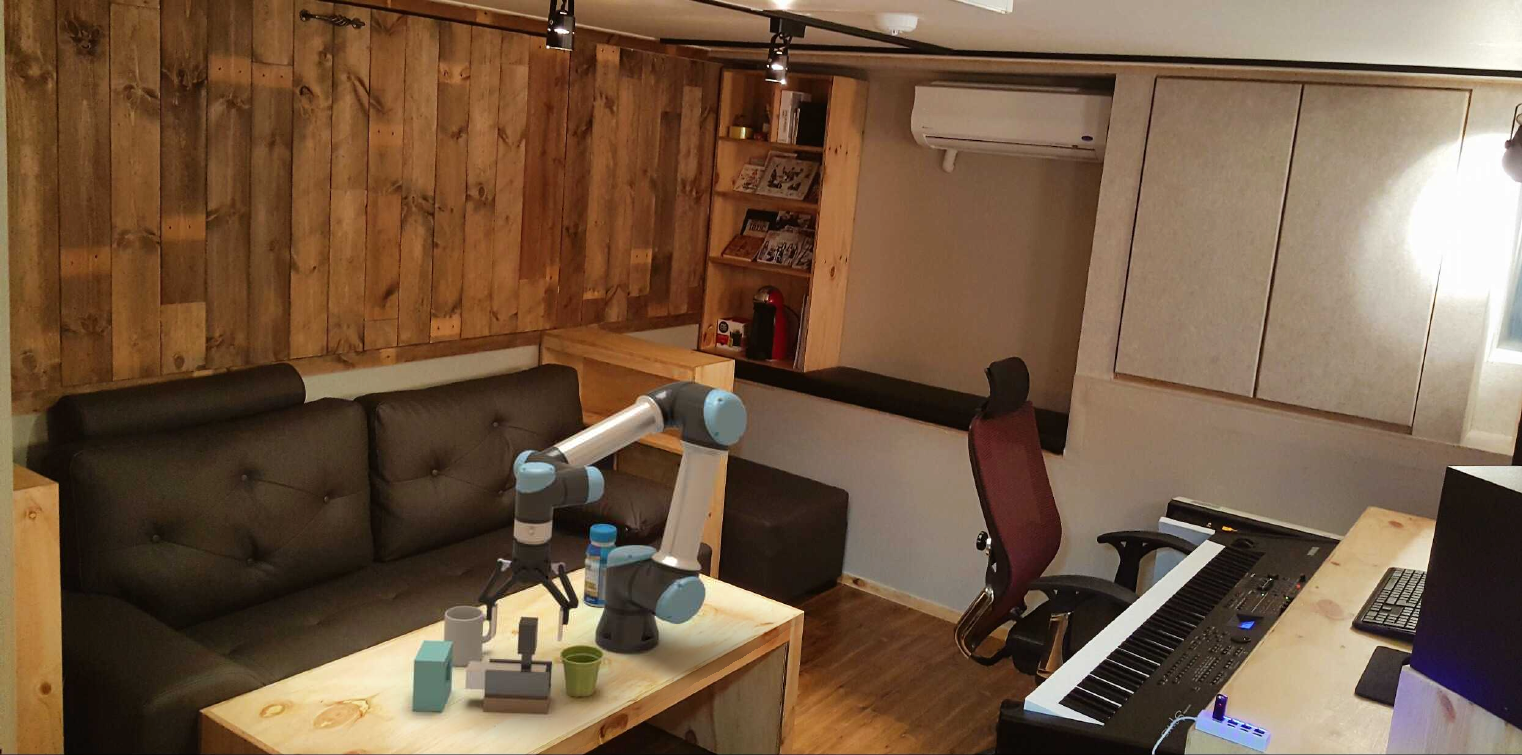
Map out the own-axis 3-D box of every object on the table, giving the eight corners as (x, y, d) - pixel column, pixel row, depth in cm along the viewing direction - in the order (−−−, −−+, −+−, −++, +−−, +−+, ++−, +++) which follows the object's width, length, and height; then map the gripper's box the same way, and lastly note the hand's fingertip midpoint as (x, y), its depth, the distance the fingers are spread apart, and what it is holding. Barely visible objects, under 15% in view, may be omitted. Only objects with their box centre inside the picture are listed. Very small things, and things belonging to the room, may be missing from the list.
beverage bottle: (613, 609, 306) (617, 534, 302) (580, 606, 306) (584, 531, 302) (617, 597, 314) (622, 524, 311) (585, 594, 314) (589, 521, 311)
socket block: (451, 690, 255) (453, 641, 253) (442, 711, 245) (444, 661, 243) (422, 688, 254) (424, 640, 252) (412, 710, 245) (414, 660, 243)
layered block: (550, 696, 256) (552, 659, 254) (546, 713, 248) (548, 675, 246) (488, 693, 255) (490, 656, 253) (483, 711, 247) (484, 672, 245)
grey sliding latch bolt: (545, 683, 253) (549, 617, 250) (543, 692, 249) (547, 625, 246) (468, 679, 252) (471, 614, 249) (465, 688, 248) (467, 622, 245)
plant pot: (582, 705, 253) (584, 667, 251) (548, 692, 258) (550, 654, 256) (610, 690, 261) (613, 653, 259) (577, 678, 266) (579, 641, 264)
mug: (455, 670, 265) (457, 623, 263) (435, 656, 271) (437, 610, 268) (502, 657, 273) (504, 611, 271) (482, 644, 279) (484, 599, 277)
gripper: (467, 540, 240) (462, 640, 244) (592, 548, 242) (586, 647, 246) (473, 529, 247) (468, 626, 251) (595, 536, 250) (588, 633, 253)
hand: (526, 637), depth 248 cm, fingers open, 13 cm apart
